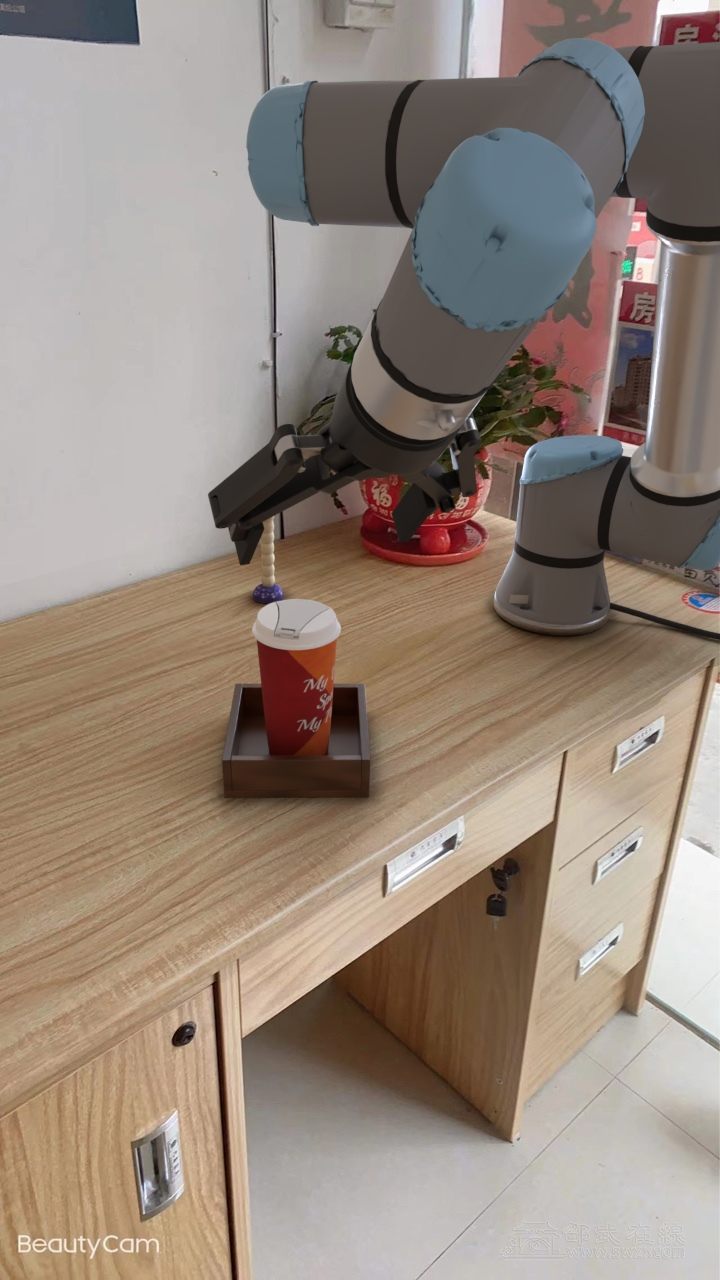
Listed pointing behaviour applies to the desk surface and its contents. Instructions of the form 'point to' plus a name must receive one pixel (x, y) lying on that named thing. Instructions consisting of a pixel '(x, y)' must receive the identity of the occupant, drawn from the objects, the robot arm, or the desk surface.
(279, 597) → the toy lamp
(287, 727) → the coffee cup
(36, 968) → the desk surface
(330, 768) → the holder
